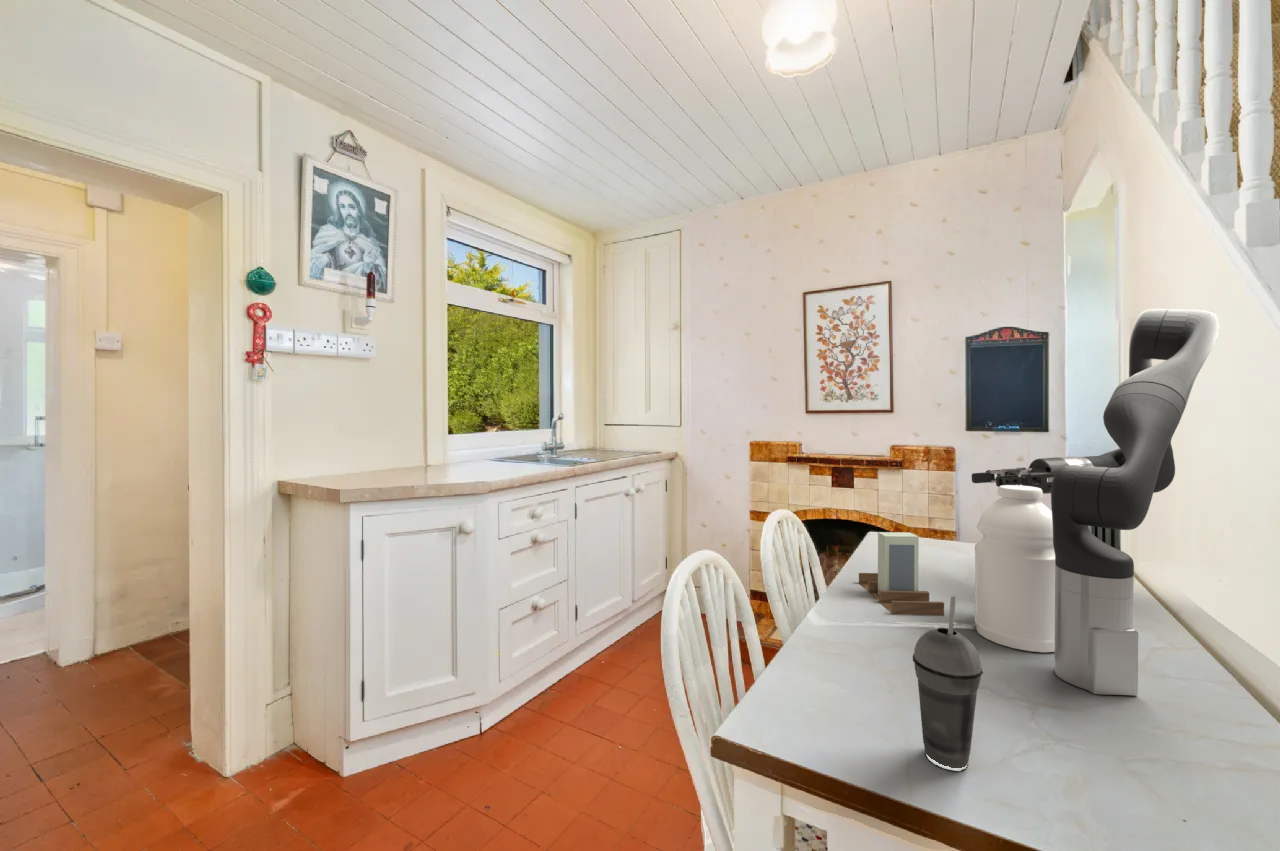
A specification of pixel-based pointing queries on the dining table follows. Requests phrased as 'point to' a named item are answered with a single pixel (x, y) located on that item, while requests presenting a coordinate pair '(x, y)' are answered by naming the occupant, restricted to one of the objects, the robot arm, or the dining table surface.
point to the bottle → (1016, 571)
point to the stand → (901, 598)
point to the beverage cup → (947, 692)
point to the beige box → (898, 561)
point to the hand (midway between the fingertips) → (984, 480)
